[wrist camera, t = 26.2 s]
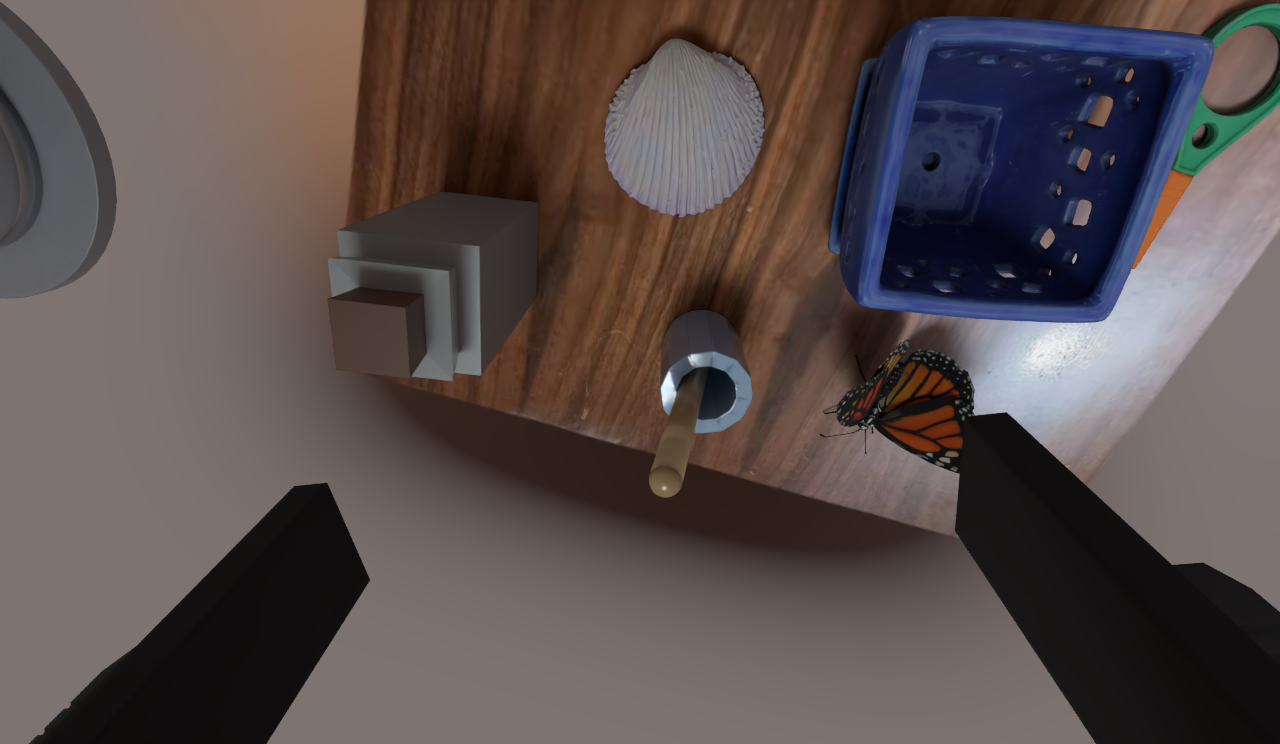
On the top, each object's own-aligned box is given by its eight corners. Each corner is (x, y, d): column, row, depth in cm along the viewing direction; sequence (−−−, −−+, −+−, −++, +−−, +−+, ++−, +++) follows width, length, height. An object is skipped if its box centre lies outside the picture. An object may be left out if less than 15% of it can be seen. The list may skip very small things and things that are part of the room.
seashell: (765, 8, 32) (782, 197, 34) (752, 42, 37) (767, 204, 39) (581, 41, 33) (608, 223, 35) (594, 70, 38) (617, 227, 40)
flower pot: (1064, 50, 35) (1241, 26, 24) (995, 270, 40) (1115, 331, 29) (838, 38, 35) (913, 9, 24) (801, 258, 41) (849, 314, 30)
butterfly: (767, 406, 46) (791, 482, 36) (832, 295, 42) (877, 349, 33) (903, 462, 47) (958, 548, 38) (978, 360, 43) (1060, 428, 34)
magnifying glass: (1224, -9, 33) (1251, -15, 32) (1317, 25, 34) (1348, 21, 32) (1068, 247, 39) (1084, 253, 38) (1148, 273, 40) (1167, 280, 38)
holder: (651, 364, 45) (647, 415, 37) (680, 298, 42) (682, 338, 35) (719, 389, 45) (728, 444, 38) (751, 326, 43) (767, 371, 36)
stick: (687, 355, 43) (640, 495, 28) (696, 336, 43) (653, 470, 27) (707, 363, 43) (672, 509, 28) (716, 345, 43) (685, 484, 27)
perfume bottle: (536, 297, 43) (451, 417, 26) (444, 287, 43) (302, 400, 26) (538, 202, 40) (445, 270, 24) (440, 191, 40) (278, 252, 24)
